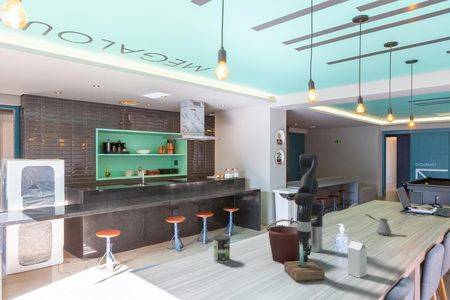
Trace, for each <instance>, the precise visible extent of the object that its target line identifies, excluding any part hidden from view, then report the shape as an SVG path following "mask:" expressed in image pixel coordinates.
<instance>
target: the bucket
mask: <svg viewBox="0 0 450 300" xmlns="http://www.w3.org/2000/svg"><path fill="white" fill-rule="evenodd" d="M280 222H290V223H295V224H297V222H298V220H293V219H286V218H285V219H278V220H275V221H272V222H270V223H269V224H268V225H267V226H266V227H265V228H266V231H267V232H268V238H269V245H270V250H271V256H272V261H274V262H275V263H276V262H277V263H280V264H283V265H284V264H285V262H294V261H300V252H299V250H298V246H297V239H299V238H298V237H297V226H287V225H276V226H275V225H274V224H277V223H280ZM273 225H274V226H273Z"/></svg>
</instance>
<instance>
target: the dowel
mask: <svg viewBox="0 0 450 300" xmlns="http://www.w3.org/2000/svg"><path fill="white" fill-rule="evenodd" d="M304 249H306V248H304ZM299 261H300V268H307V265H308V262H304V253H303V250H302V245H300V257H299Z"/></svg>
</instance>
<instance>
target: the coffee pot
mask: <svg viewBox="0 0 450 300" xmlns="http://www.w3.org/2000/svg"><path fill="white" fill-rule="evenodd" d="M365 216H367V217H369V218H370V219H372V220H374V221H376V222H378V226H377V227H376V230H375V232H376V233H377V234H378V235H379V236H386V237H387V236H390V235H391V234H392V230H391V227H390V225H389V223H388V221H389V219H388V218H379V220H378V219H376V218H375V217H373V216H372V215H369V214H367V213H365Z"/></svg>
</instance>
